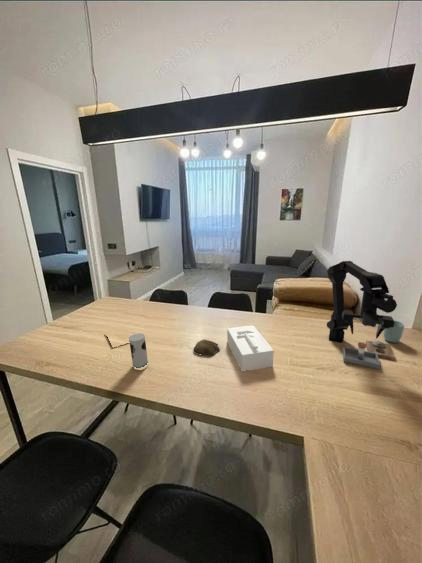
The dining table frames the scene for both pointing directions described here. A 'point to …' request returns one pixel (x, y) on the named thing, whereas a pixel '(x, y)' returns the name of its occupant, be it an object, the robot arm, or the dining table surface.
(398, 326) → the cup
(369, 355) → the tray
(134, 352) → the grey cylinder
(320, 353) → the dining table surface
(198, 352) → the dark brown rock
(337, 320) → the robot arm
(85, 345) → the dining table surface
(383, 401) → the dining table surface
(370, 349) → the block
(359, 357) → the lock pin
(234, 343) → the white rectangular block
